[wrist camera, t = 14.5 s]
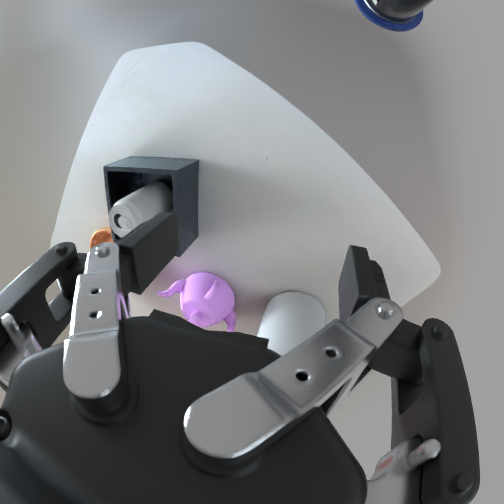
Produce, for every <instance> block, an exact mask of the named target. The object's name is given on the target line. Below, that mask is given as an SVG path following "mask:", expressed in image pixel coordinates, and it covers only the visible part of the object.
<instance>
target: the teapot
mask: <svg viewBox="0 0 504 504" xmlns="http://www.w3.org/2000/svg"><path fill="white" fill-rule="evenodd" d="M174 292H181V293H180V304H181V309H182V312H183V314H184V316H185V317H186V319H187V320H188V322H190V323H192V324H194V325H197V326H200V327H208V326H212V325H215V324H217V323H219V322H221V321H223V320H225V321H226V323H227V324H228V332H234V328H235V324H236V314H235V312H234V310H233V308H234V305H235V297H234V293H233V291H232V289H231V288H230V286H229V285H228V284H227V283H226V282H225V281H224V280H223V279H221V278H220V277H218V276H216V275H214V274H211V273H204V272H200V273H195V274H193V275H191V276H189V277H188V278H187V279H186V280H178V281H176V282H175V283H174V284H173V285H172V286H171V287H170V288H169V289H168V290H167V291H164V292H157V294H158V295H160V296H162V297H170V296H171V295H172V294H173V293H174Z"/></svg>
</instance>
